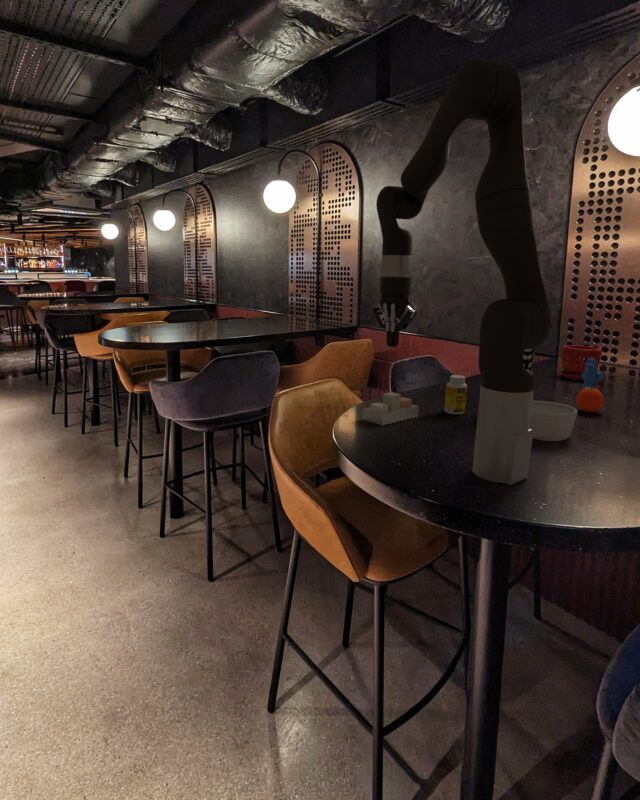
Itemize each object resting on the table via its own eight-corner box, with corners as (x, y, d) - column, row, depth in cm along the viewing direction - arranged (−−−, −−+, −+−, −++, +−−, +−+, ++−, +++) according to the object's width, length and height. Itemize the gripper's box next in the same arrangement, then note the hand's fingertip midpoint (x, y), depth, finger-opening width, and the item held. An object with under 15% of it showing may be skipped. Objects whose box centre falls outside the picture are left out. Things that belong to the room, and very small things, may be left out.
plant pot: (596, 383, 181) (601, 350, 178) (556, 379, 188) (560, 347, 185) (598, 377, 192) (603, 346, 189) (560, 373, 199) (565, 343, 196)
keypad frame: (418, 417, 135) (418, 406, 134) (382, 426, 126) (382, 414, 125) (398, 411, 140) (398, 400, 139) (362, 419, 131) (362, 408, 130)
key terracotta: (410, 413, 136) (411, 399, 135) (402, 415, 134) (403, 401, 133) (401, 411, 138) (402, 397, 137) (393, 413, 136) (394, 398, 135)
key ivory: (387, 419, 130) (388, 404, 129) (378, 421, 128) (379, 406, 127) (378, 416, 132) (379, 402, 131) (369, 418, 130) (370, 403, 129)
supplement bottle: (455, 416, 136) (458, 379, 134) (439, 411, 141) (442, 375, 138) (469, 413, 139) (472, 377, 137) (453, 408, 144) (456, 373, 141)
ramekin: (502, 429, 126) (505, 402, 124) (544, 424, 130) (547, 398, 129) (542, 446, 114) (546, 416, 112) (586, 440, 118) (590, 412, 117)
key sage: (399, 409, 132) (400, 394, 131) (391, 411, 130) (392, 396, 129) (390, 406, 135) (391, 392, 134) (382, 408, 133) (383, 393, 132)
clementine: (565, 409, 146) (569, 385, 144) (581, 406, 149) (585, 383, 147) (591, 416, 139) (595, 391, 137) (607, 413, 142) (611, 388, 140)
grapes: (601, 398, 159) (607, 361, 156) (577, 395, 162) (583, 359, 159) (601, 391, 169) (607, 356, 166) (579, 389, 172) (584, 354, 169)
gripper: (365, 274, 124) (362, 344, 128) (407, 275, 115) (403, 351, 119) (385, 275, 129) (382, 342, 133) (427, 275, 119) (422, 348, 124)
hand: (392, 346), depth 126 cm, fingers closed
